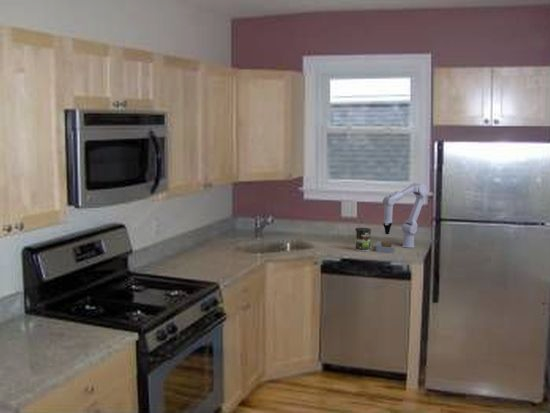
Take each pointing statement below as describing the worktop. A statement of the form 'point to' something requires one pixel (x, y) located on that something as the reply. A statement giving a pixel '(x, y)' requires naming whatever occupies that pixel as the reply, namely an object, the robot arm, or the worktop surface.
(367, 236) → the coffee can
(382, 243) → the cabinet block
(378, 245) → the cleat wall
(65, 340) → the worktop surface
